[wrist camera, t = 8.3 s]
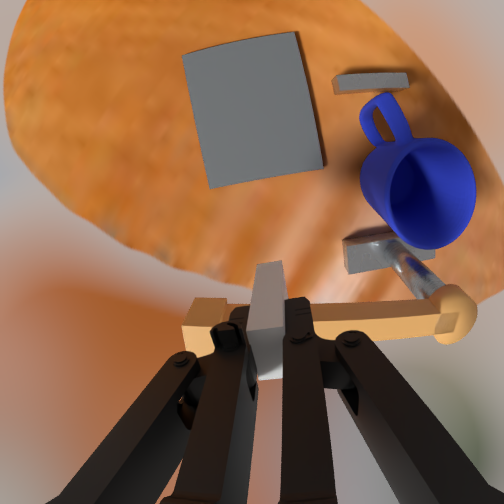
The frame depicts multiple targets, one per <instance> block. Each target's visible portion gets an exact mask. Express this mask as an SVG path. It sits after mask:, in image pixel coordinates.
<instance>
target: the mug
mask: <svg viewBox="0 0 504 504" xmlns="http://www.w3.org/2000/svg"><path fill="white" fill-rule="evenodd" d="M377 106H378V108H379V109H380V111H381V113H382V114H383V116H384V118H385V120H386V121H387V123H388V125H389V127H390V129H391V131H392V133H393V135H394V137H395V141H393V142H386V141H384V140H383V138H382V137H381V135H380V134H379V132H378V130H377V128H376V126H375V123H374V121H373V111H374V109H375V108H376V107H377ZM359 119H360V124H361V126H362V129H363V131H364V133H365V135H366V136H367V138H368V139H369V141H370V142H371V143H372V144H373V145H374V146H376V149H374V150H373V151H372V152H371V153H370V154H369V155H368V156H367V158H366V159H365V161H364V163H363V165H362V168H361V172H360V185H361V189H362V192H363V195H364V197H365V199H366V200H367V202H368V203H369V204H370V205H371V206H372V208H373V209H374V210H375V211H376V212H377V213H378V214H379V215H380V216H381V217H382V218H383V219H384V221H385V222H386V223H387V224H388V225H389V226H390V227H391V228H392V230H393V231H394V232H395V233H396V234H397V235H398V236H399V237H400V238H401V239H402V240H403V241H404V242H406V243H407V244H409V245H411V246H413V247H415V248H419V249H424V250H433V249H438V248H441V247H444V246H446V245H448V244H450V243H451V242H453V241H454V240H455V239H457V238H458V237H459V236H460V235H461V233H462V232H463V231H464V230H465V228H466V227H467V225H468V223H469V221H470V219H471V217H472V214H473V211H474V207H475V202H476V183H475V178H474V174H473V171H472V168H471V166H470V164H469V162H468V160H467V159H466V157H465V156H464V155H463V153H462V152H461V151H460V150H459V149H458V148H456V147H455V146H454V145H452V144H451V143H449V142H447V141H444V140H442V139H437V138H413V136H412V134H411V130H410V127H409V125H408V122H407V120H406V118H405V116H404V114H403V112H402V110H401V108H400V106H399V105H398V103H397V101H396V100H395V98H394V97H393V95H392V94H391V93H389V92H385V93H382V94H379V95H377V96H376V97H374V98H373V99H371V100H370V101H369V102H368V103H366V104H365V106H364V107H363V108H362V110H361V112H360V116H359Z"/></svg>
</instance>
